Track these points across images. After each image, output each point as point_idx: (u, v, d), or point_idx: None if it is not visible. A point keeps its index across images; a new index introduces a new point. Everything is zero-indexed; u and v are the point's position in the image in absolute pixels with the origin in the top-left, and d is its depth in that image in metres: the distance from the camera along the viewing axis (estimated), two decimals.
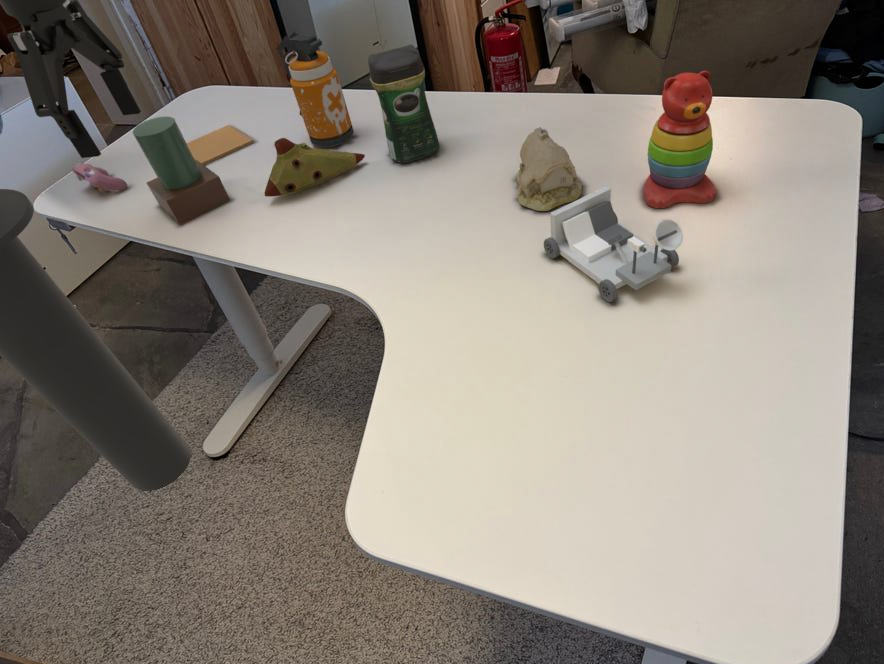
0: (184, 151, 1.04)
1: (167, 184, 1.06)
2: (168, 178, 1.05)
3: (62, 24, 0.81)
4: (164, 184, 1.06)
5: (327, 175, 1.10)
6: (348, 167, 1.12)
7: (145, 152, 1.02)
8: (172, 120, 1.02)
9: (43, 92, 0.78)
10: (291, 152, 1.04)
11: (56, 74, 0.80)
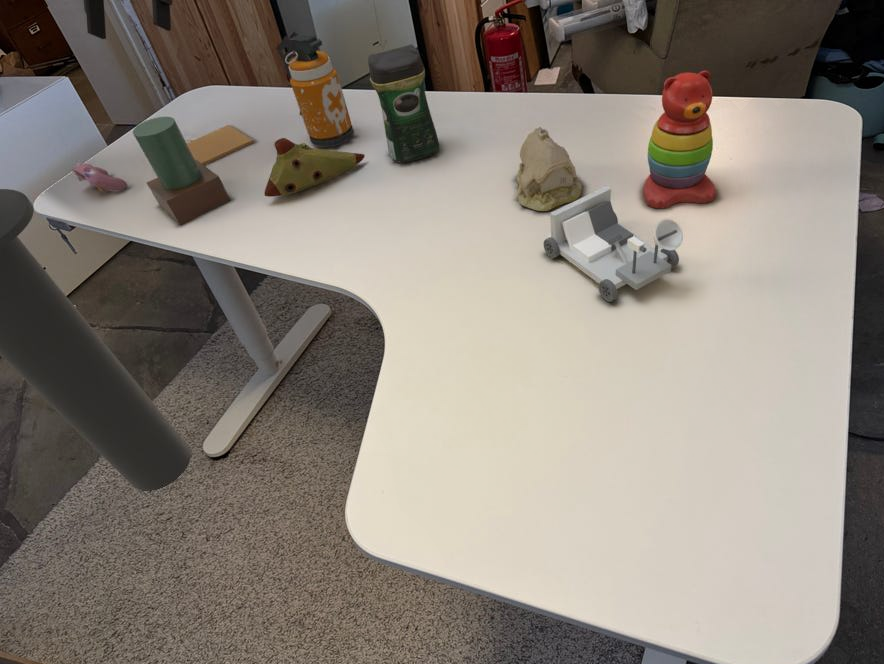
0: (184, 151, 1.04)
1: (167, 184, 1.06)
2: (168, 178, 1.05)
3: None
4: (164, 184, 1.06)
5: (327, 175, 1.10)
6: (348, 167, 1.12)
7: (145, 152, 1.02)
8: (172, 120, 1.02)
9: None
10: (291, 152, 1.04)
11: None
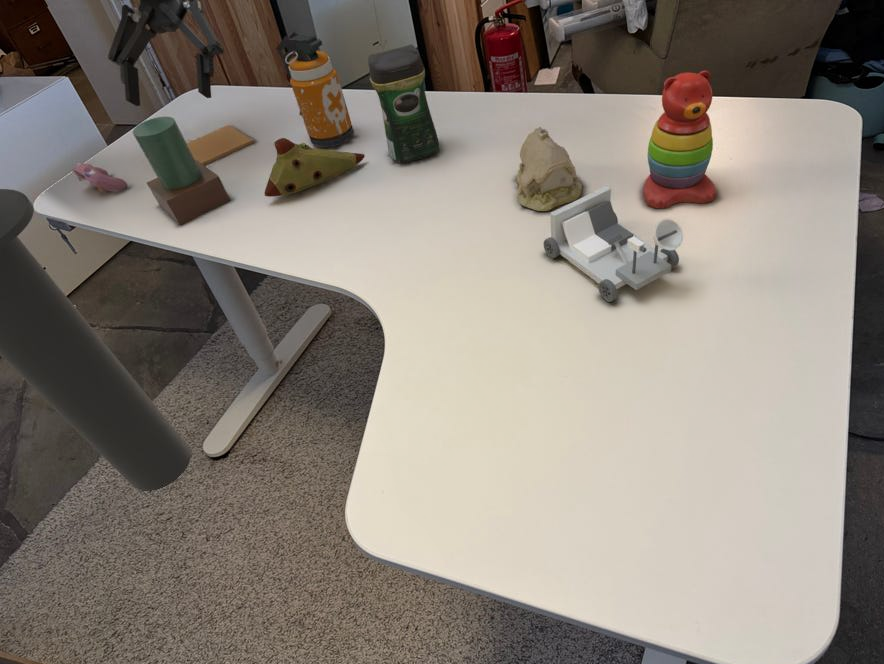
0: (184, 151, 1.04)
1: (167, 184, 1.06)
2: (168, 178, 1.05)
3: None
4: (164, 184, 1.06)
5: (327, 175, 1.10)
6: (348, 167, 1.12)
7: (145, 152, 1.02)
8: (172, 120, 1.02)
9: (216, 37, 1.05)
10: (291, 152, 1.04)
11: (196, 35, 1.06)
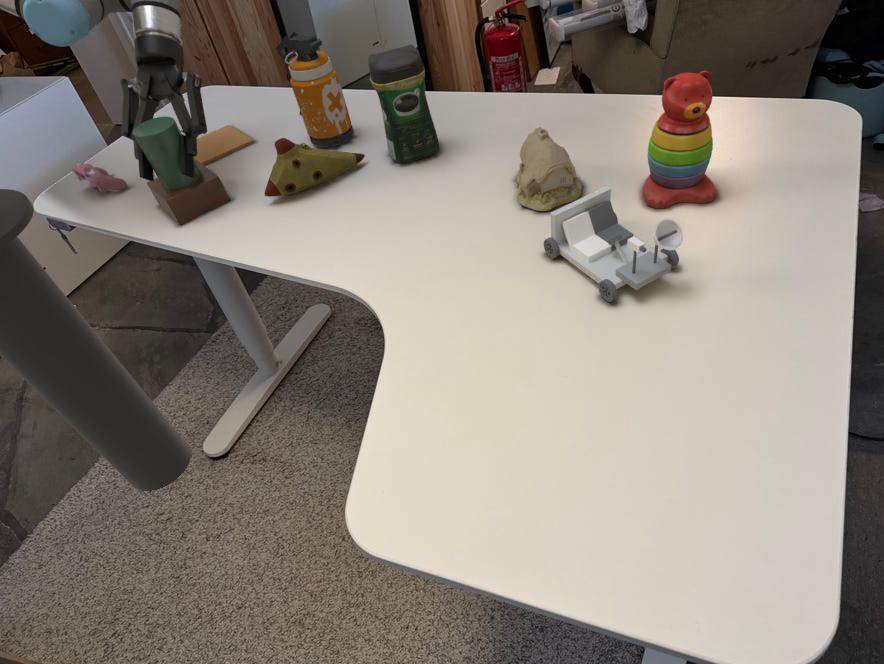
0: None
1: (167, 183, 1.06)
2: (168, 178, 1.05)
3: None
4: (164, 184, 1.06)
5: (327, 175, 1.10)
6: (348, 167, 1.12)
7: (145, 152, 1.02)
8: (172, 120, 1.02)
9: (203, 116, 1.04)
10: (291, 152, 1.04)
11: (187, 110, 1.05)
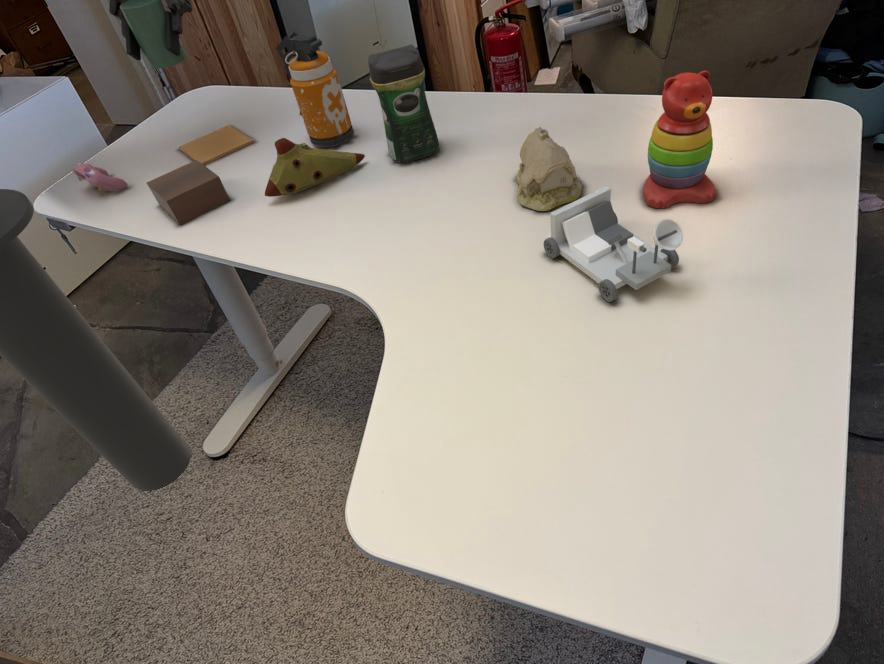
0: None
1: (153, 62, 1.09)
2: (155, 55, 1.08)
3: None
4: (150, 63, 1.10)
5: (327, 175, 1.10)
6: (348, 167, 1.12)
7: (132, 27, 1.05)
8: None
9: None
10: (291, 152, 1.04)
11: None
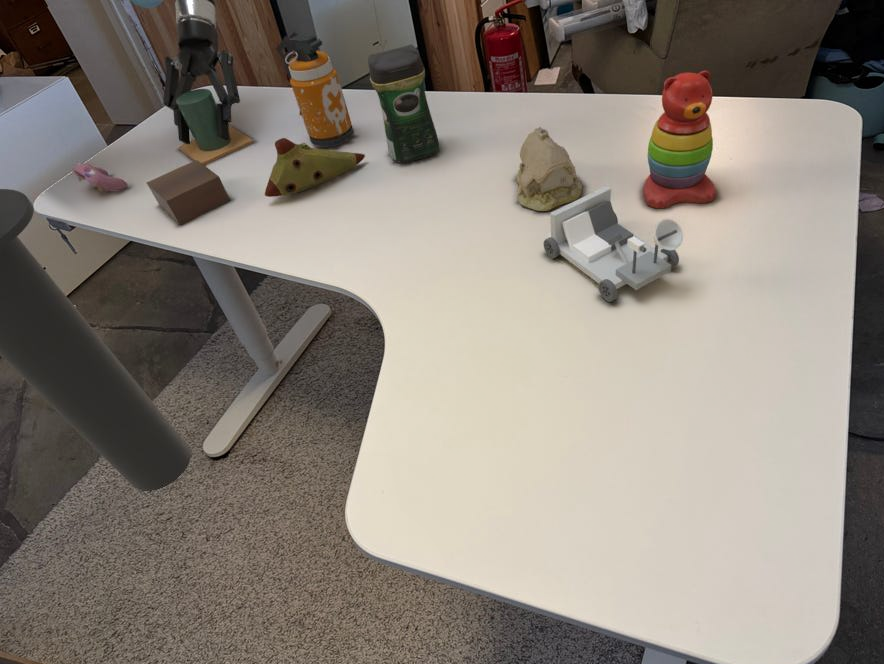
0: None
1: (203, 146, 1.25)
2: (205, 141, 1.24)
3: None
4: (200, 146, 1.25)
5: (327, 175, 1.10)
6: (348, 167, 1.12)
7: (186, 118, 1.21)
8: (208, 91, 1.21)
9: (236, 88, 1.23)
10: (291, 152, 1.04)
11: (222, 84, 1.24)
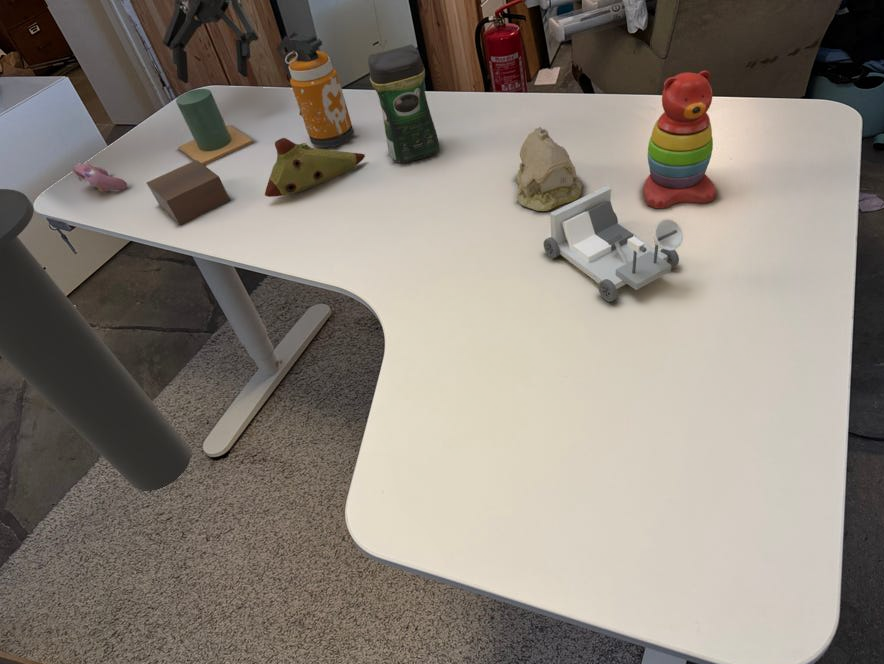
0: (218, 118, 1.23)
1: (203, 146, 1.25)
2: (205, 141, 1.24)
3: None
4: (200, 146, 1.25)
5: (327, 175, 1.10)
6: (348, 167, 1.12)
7: (186, 118, 1.21)
8: (208, 91, 1.21)
9: (252, 26, 1.28)
10: (291, 152, 1.04)
11: (236, 25, 1.28)
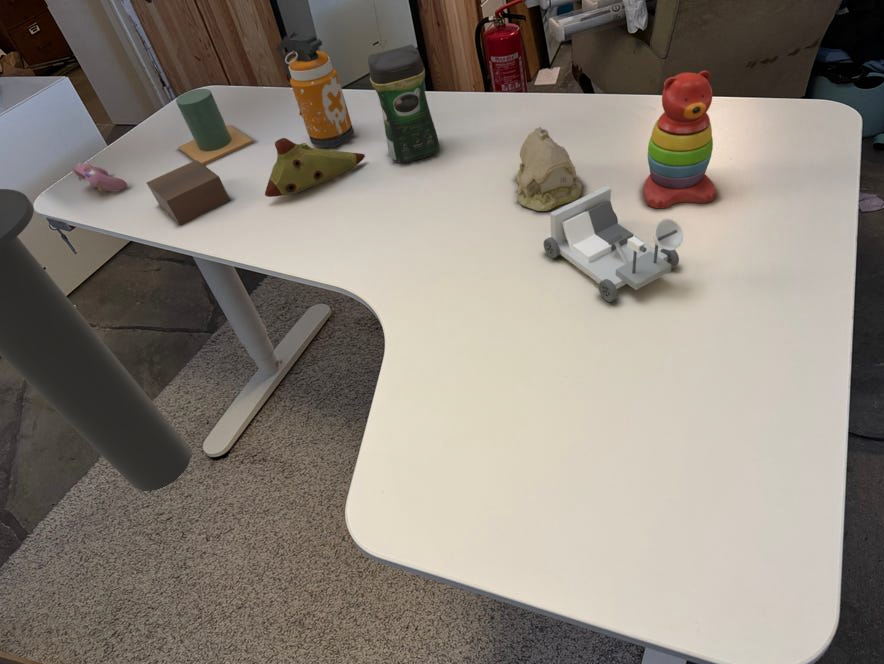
0: (218, 118, 1.23)
1: (203, 146, 1.25)
2: (205, 141, 1.24)
3: None
4: (200, 146, 1.25)
5: (327, 175, 1.10)
6: (348, 167, 1.12)
7: (186, 118, 1.21)
8: (208, 91, 1.21)
9: None
10: (291, 152, 1.04)
11: None
